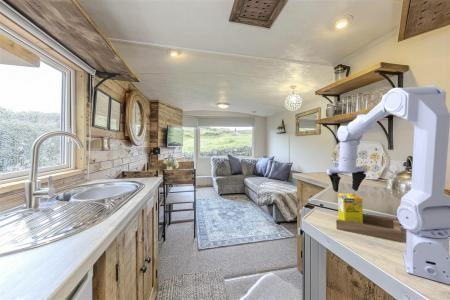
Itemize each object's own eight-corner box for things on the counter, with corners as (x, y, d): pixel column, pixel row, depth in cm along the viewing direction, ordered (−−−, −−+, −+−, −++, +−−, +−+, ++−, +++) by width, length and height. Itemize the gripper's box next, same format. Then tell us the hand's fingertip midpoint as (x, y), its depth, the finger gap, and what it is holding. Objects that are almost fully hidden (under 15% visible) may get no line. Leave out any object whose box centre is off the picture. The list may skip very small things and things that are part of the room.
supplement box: (363, 229, 68) (362, 198, 68) (344, 228, 70) (343, 198, 69) (355, 222, 74) (355, 193, 73) (338, 221, 75) (337, 193, 75)
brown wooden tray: (401, 242, 59) (401, 232, 59) (336, 229, 70) (336, 220, 69) (398, 227, 68) (398, 219, 68) (341, 217, 78) (341, 210, 78)
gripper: (359, 153, 80) (356, 185, 83) (323, 155, 80) (321, 187, 83) (372, 158, 73) (369, 192, 76) (332, 160, 73) (330, 194, 76)
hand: (345, 190), depth 79 cm, fingers open, 7 cm apart
